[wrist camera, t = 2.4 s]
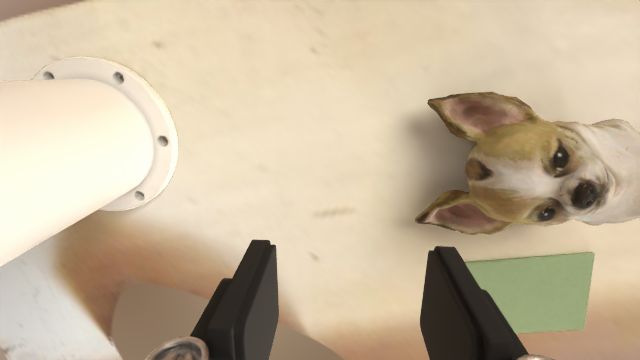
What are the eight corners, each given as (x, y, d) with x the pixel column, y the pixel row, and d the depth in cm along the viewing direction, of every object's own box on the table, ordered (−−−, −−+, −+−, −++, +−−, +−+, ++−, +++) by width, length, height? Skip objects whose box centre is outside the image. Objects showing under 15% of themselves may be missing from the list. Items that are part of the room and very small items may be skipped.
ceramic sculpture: (692, 290, 19) (427, 269, 21) (595, 225, 28) (409, 214, 29) (771, 102, 16) (449, 96, 18) (634, 91, 24) (422, 88, 26)
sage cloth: (449, 334, 32) (450, 337, 32) (448, 263, 30) (449, 265, 30) (582, 327, 31) (584, 329, 31) (592, 252, 29) (594, 253, 28)
